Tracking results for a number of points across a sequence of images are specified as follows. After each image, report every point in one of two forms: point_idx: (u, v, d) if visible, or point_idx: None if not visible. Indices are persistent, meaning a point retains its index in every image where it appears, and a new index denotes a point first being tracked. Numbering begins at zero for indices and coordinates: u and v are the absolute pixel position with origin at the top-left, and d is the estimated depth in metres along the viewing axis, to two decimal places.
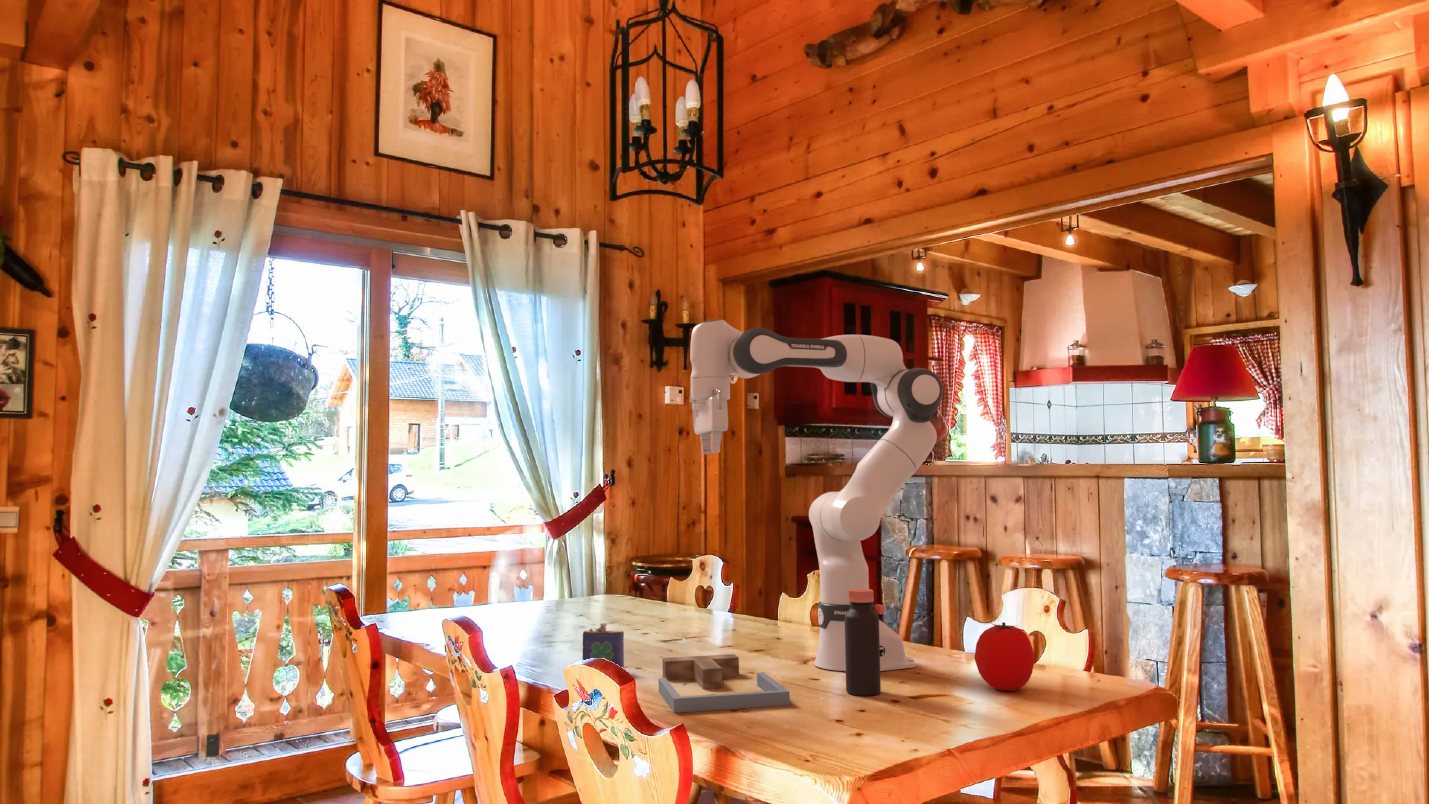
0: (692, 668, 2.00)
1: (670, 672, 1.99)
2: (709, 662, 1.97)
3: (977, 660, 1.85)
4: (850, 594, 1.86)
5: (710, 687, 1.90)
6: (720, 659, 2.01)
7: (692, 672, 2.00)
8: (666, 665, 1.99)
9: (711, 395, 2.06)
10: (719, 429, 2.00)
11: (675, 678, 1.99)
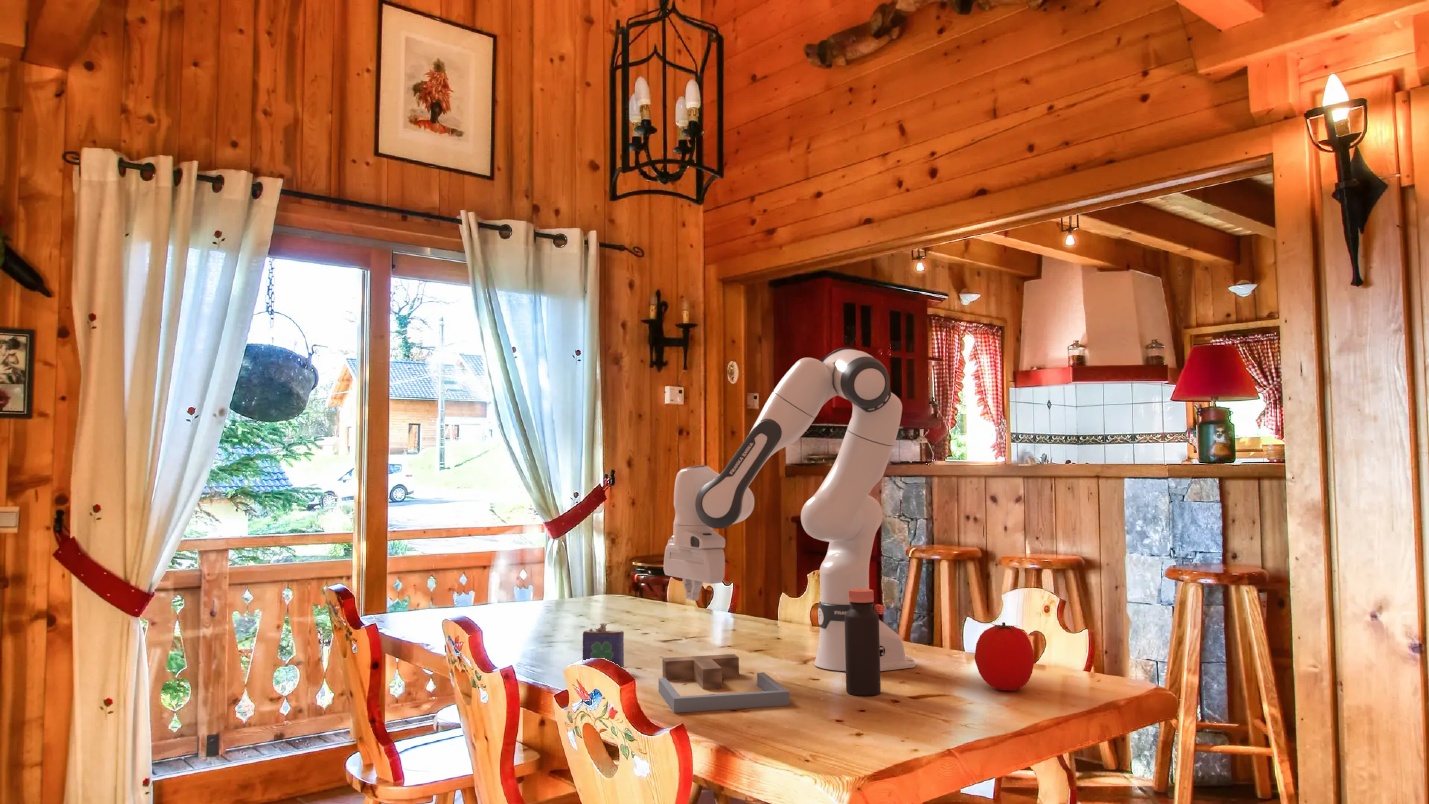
0: (692, 668, 2.00)
1: (670, 672, 1.99)
2: (709, 662, 1.97)
3: (977, 660, 1.85)
4: (850, 594, 1.86)
5: (710, 687, 1.90)
6: (720, 659, 2.01)
7: (692, 672, 2.00)
8: (666, 665, 1.99)
9: None
10: None
11: (675, 678, 1.99)
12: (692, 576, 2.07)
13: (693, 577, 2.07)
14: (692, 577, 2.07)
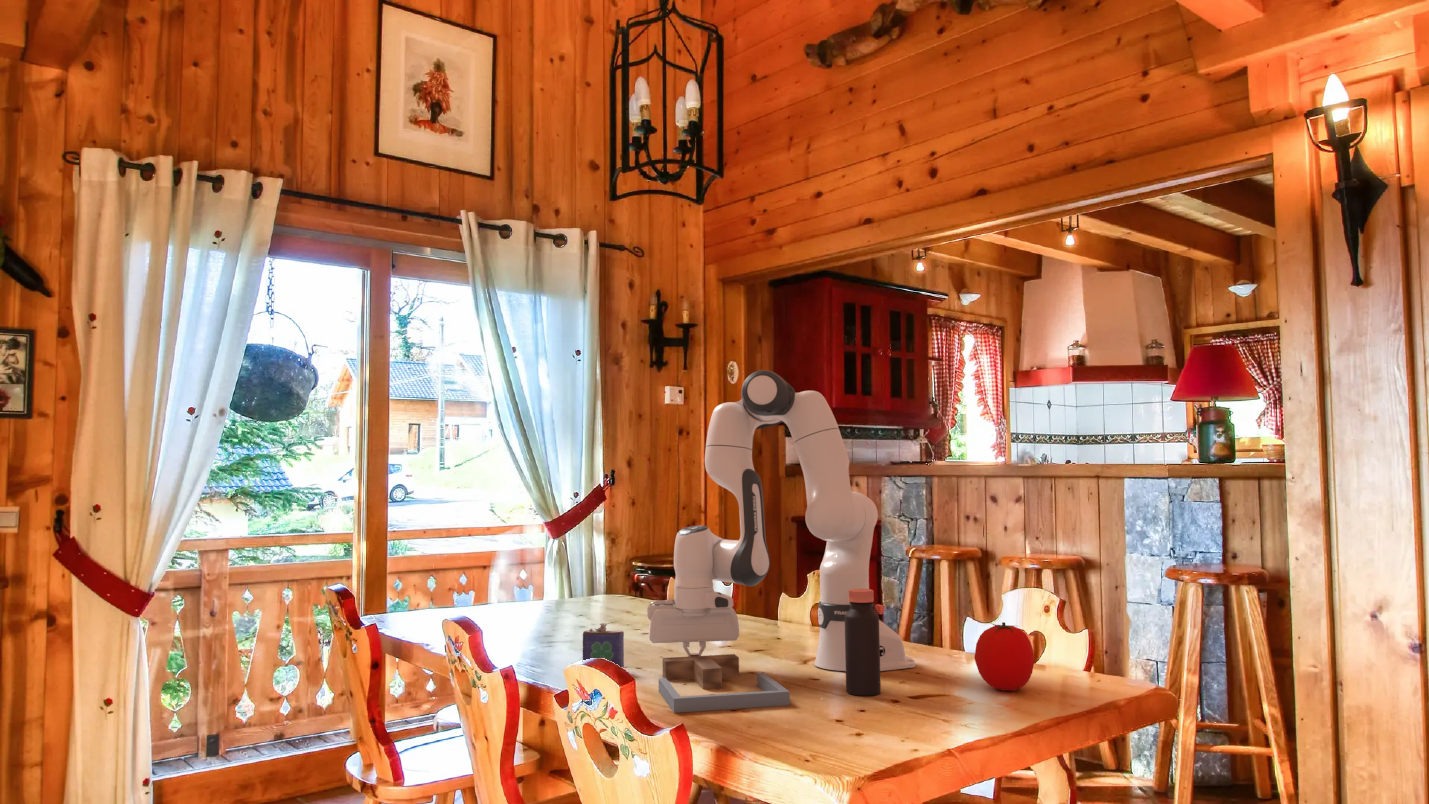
0: (692, 668, 2.00)
1: (670, 672, 1.99)
2: (709, 662, 1.97)
3: (977, 660, 1.85)
4: (850, 594, 1.86)
5: (710, 687, 1.90)
6: (720, 659, 2.01)
7: (692, 672, 2.00)
8: (666, 665, 1.99)
9: None
10: None
11: (675, 678, 1.99)
12: (707, 637, 2.08)
13: (709, 638, 2.08)
14: (707, 638, 2.08)
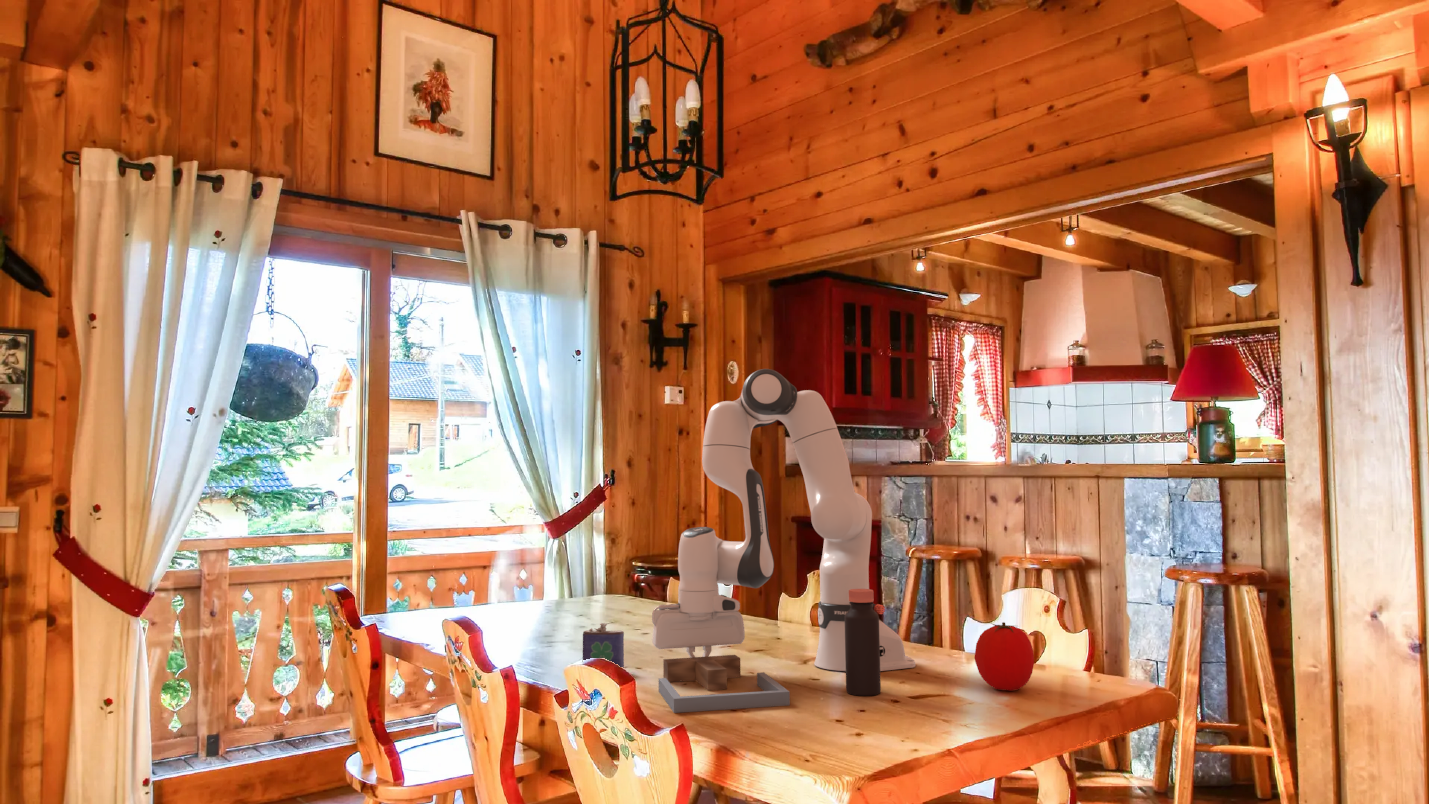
0: (694, 669, 1.98)
1: (672, 673, 1.97)
2: (712, 663, 1.96)
3: (977, 660, 1.85)
4: (850, 594, 1.86)
5: (715, 688, 1.89)
6: (722, 660, 2.00)
7: (694, 673, 1.98)
8: (668, 666, 1.97)
9: None
10: None
11: (677, 679, 1.97)
12: (713, 641, 2.03)
13: (716, 642, 2.03)
14: (713, 642, 2.03)
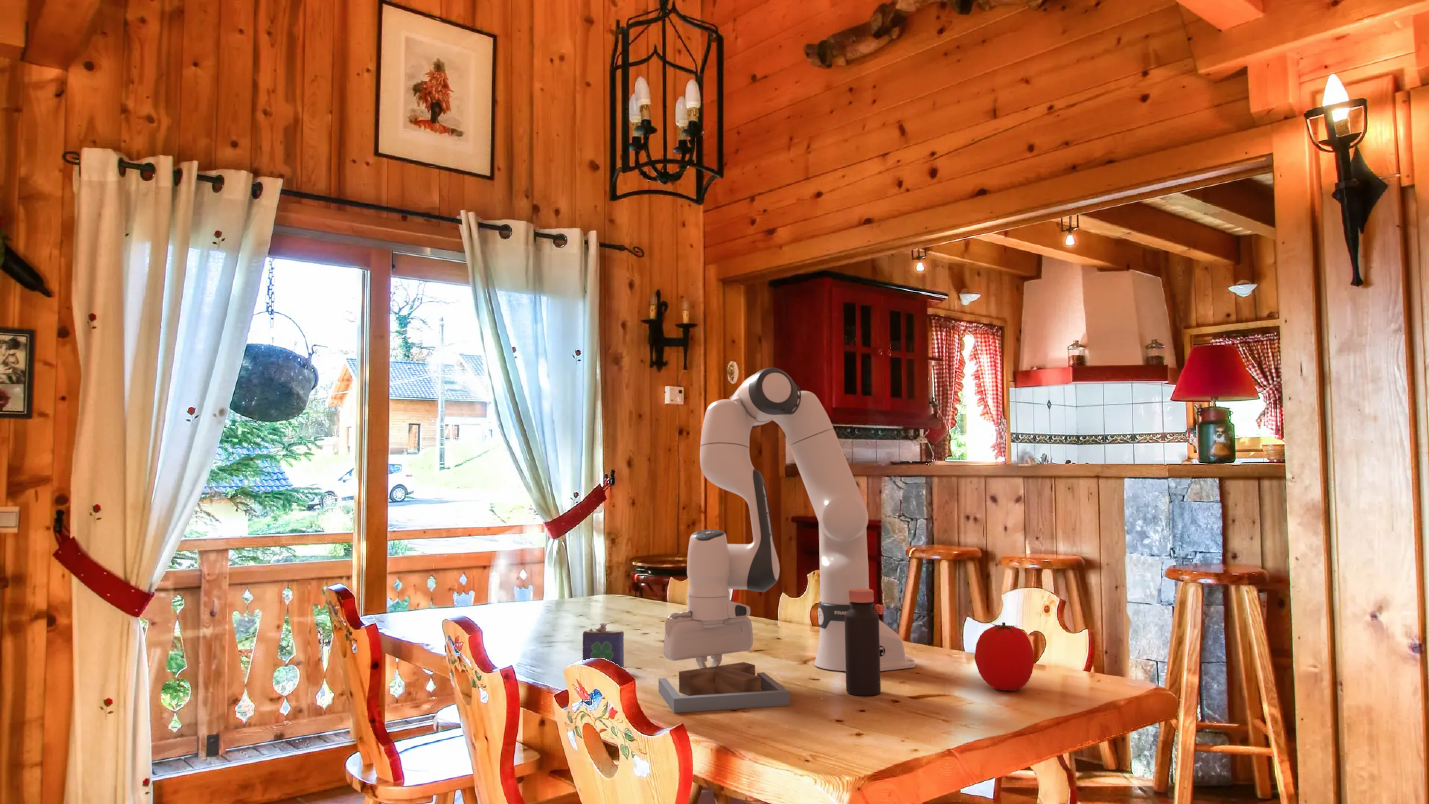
0: (714, 680, 1.88)
1: (694, 686, 1.85)
2: (736, 672, 1.86)
3: (977, 660, 1.85)
4: (850, 594, 1.86)
5: None
6: (739, 668, 1.91)
7: (714, 684, 1.88)
8: (690, 679, 1.85)
9: None
10: (668, 658, 1.88)
11: (698, 692, 1.85)
12: (724, 649, 1.93)
13: (727, 650, 1.94)
14: (724, 650, 1.93)
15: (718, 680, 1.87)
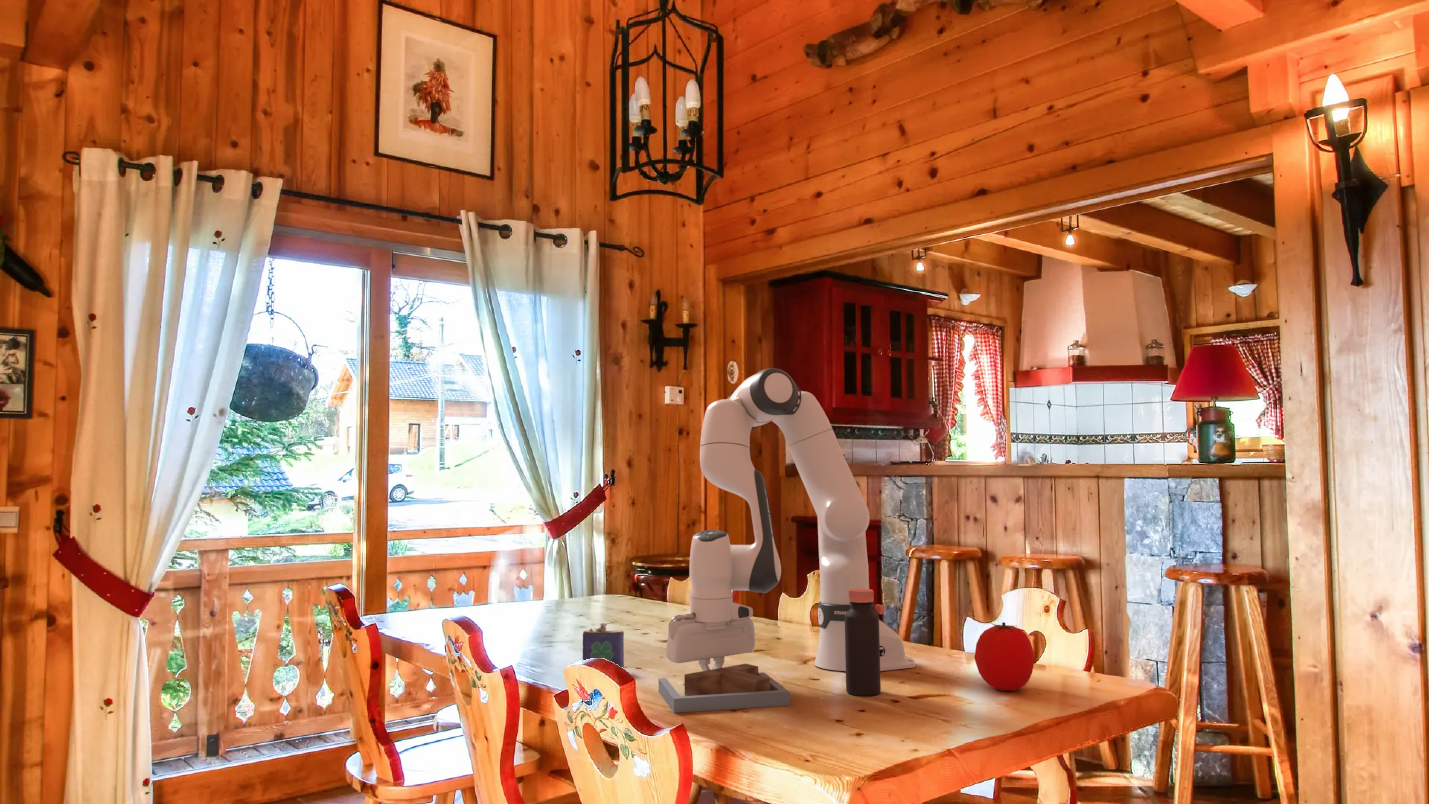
0: (720, 682, 1.85)
1: (701, 689, 1.82)
2: (743, 674, 1.85)
3: (977, 660, 1.85)
4: (850, 594, 1.86)
5: None
6: (743, 670, 1.90)
7: (720, 686, 1.85)
8: (697, 681, 1.82)
9: None
10: (672, 661, 1.85)
11: None
12: (727, 651, 1.91)
13: (730, 652, 1.91)
14: (727, 652, 1.91)
15: (724, 682, 1.85)
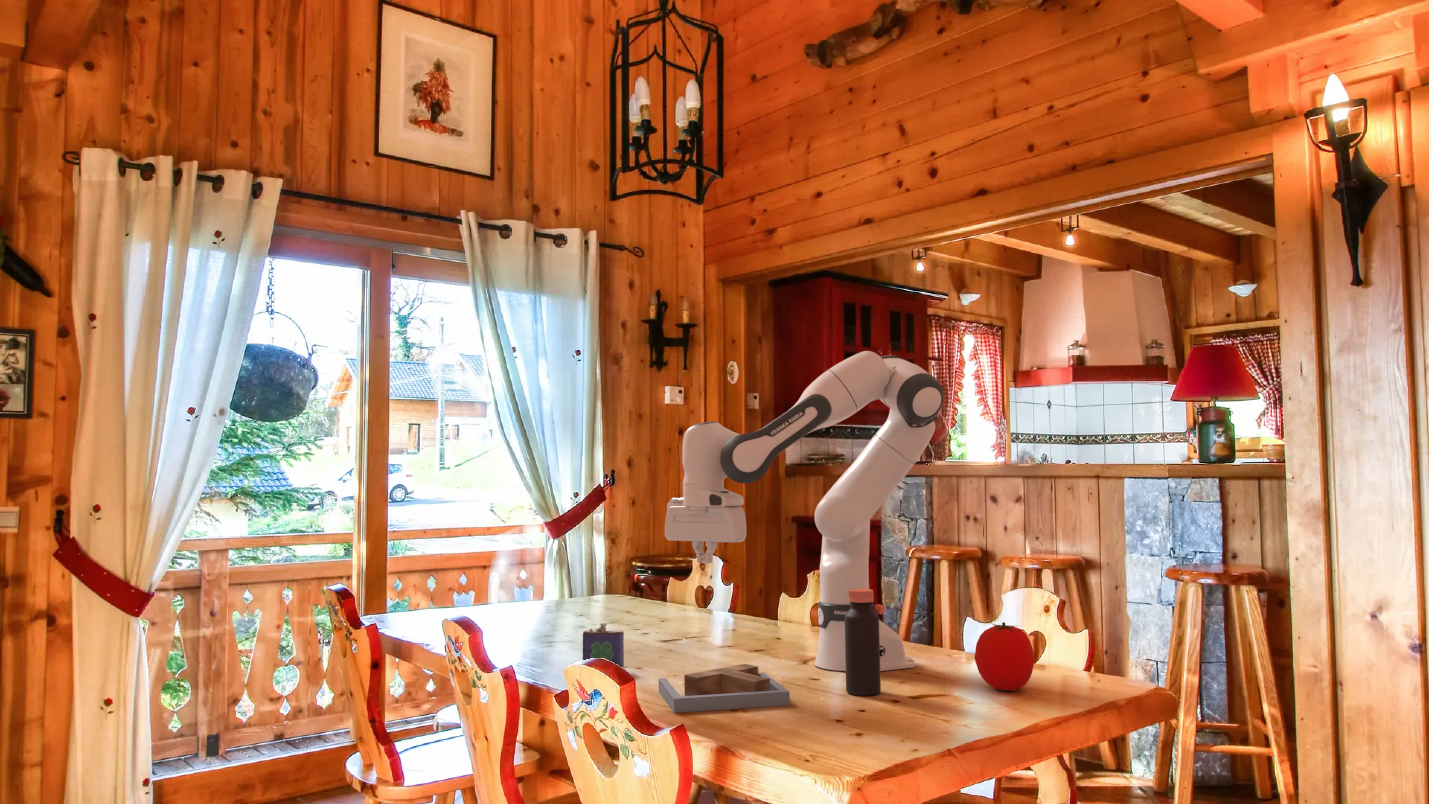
0: (720, 682, 1.85)
1: (701, 689, 1.82)
2: (743, 674, 1.85)
3: (977, 660, 1.85)
4: (850, 594, 1.86)
5: None
6: (743, 670, 1.90)
7: (720, 687, 1.85)
8: (697, 682, 1.82)
9: None
10: None
11: None
12: (709, 537, 1.97)
13: (711, 538, 1.97)
14: (708, 538, 1.97)
15: (724, 682, 1.85)
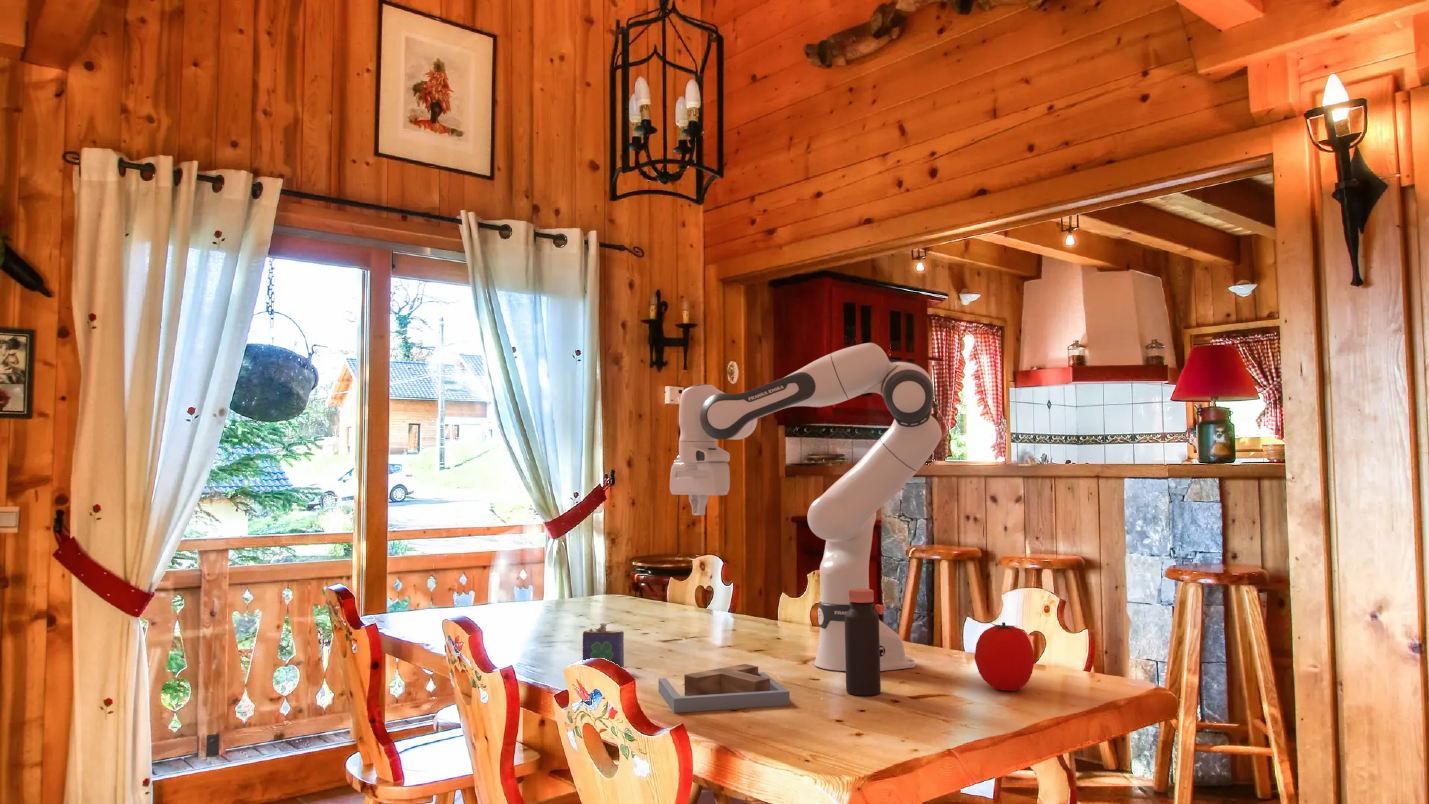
0: (720, 682, 1.85)
1: (701, 689, 1.82)
2: (743, 674, 1.85)
3: (977, 660, 1.85)
4: (850, 594, 1.86)
5: None
6: (743, 670, 1.90)
7: (720, 687, 1.85)
8: (697, 682, 1.82)
9: None
10: None
11: None
12: (698, 490, 2.12)
13: (699, 491, 2.12)
14: (698, 491, 2.12)
15: (724, 682, 1.85)
